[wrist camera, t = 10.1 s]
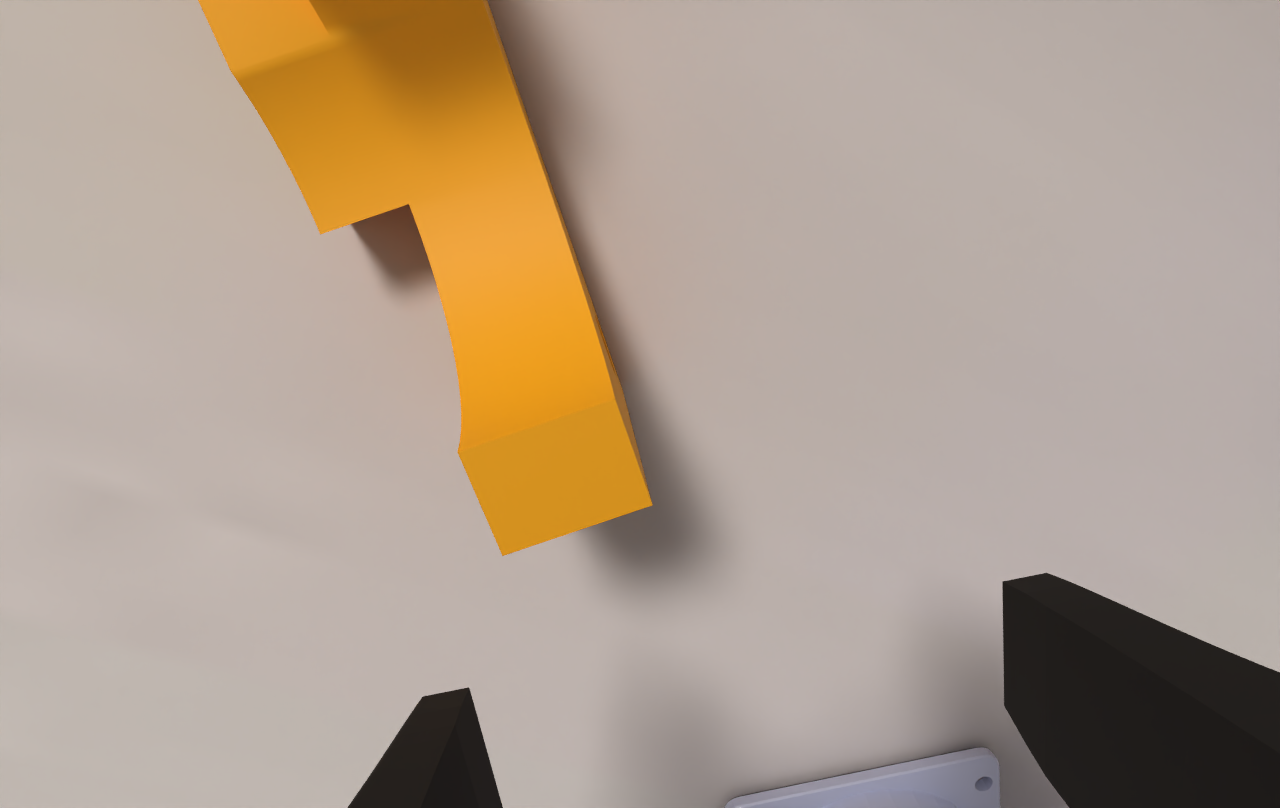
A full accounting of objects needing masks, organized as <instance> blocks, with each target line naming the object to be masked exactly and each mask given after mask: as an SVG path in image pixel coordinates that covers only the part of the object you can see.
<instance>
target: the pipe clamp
mask: <svg viewBox="0 0 1280 808" xmlns="http://www.w3.org/2000/svg"><path fill="white" fill-rule="evenodd" d="M198 1H199V3H200V5H201V7H202V10H203V12H204V14H205V16H206V18H207V20H208V23H209V25H210V27H211V29H212V31H213V33H214V36H215V38H216V40H217V42H218V44H219V47H220V49H221V51H222V53H223V55H224V57H225V60H226V62H227V64H228V66H229V68H230V71H231V72H232V74H233V75H234V77H235V78H236V79H237V81H238V82H239V84H240V85H241V87H242V88H243V90H244V92H245V93H246V95H247V96H248V98H249V99H250V101H251V102H252V104H253V105H254V107H255V109H256V110H257V112H258V114H259V115H260V117H261V118H262V120H263V122H264V123H265V125H266V127H267V128H268V130H269V132H270V134H271V135H272V137H273V139H274V141H275V142H276V144H277V146H278V148H279V149H280V151H281V153H282V155H283V157H284V159H285V161H286V163H287V164H288V166H289V168H290V170H291V172H292V174H293V176H294V178H295V180H296V182H297V184H298V186H299V188H300V190H301V192H302V194H303V196H304V198H305V201H306V203H307V205H308V207H309V209H310V212H311V214H312V216H313V218H314V220H315V223H316V225H317V227H318V230H319V232H320V234H323V233H326V232H329V231H331V230H334V229H337V228H340V227H343V226H346V225H349V224H352V223H355V222H358V221H361V220H364V219H367V218H369V217H372V216H375V215H378V214H381V213H384V212H387V211H390V210H393V209H396V208H399V207H402V206H405V205H407V204H409V206H410V209H411V211H412V214H413V217H414V219H415V222H416V225H417V227H418V230H419V233H420V236H421V239H422V241H423V244H424V247H425V250H426V253H427V256H428V259H429V262H430V265H431V268H432V272H433V275H434V278H435V281H436V285H437V288H438V291H439V295H440V298H441V302H442V305H443V309H444V313H445V317H446V321H447V325H448V329H449V333H450V337H451V342H452V347H453V352H454V357H455V362H456V368H457V374H458V380H459V389H460V398H461V436H460V443H459V448H458V454H459V457H460V459H461V461H462V464H463V466H464V468H465V470H466V473H467V475H468V477H469V480H470V482H471V484H472V487H473V489H474V491H475V493H476V496H477V498H478V500H479V503H480V505H481V507H482V510H483V512H484V514H485V516H486V519H487V521H488V523H489V526H490V528H491V530H492V533H493V535H494V537H495V539H496V542H497V544H498V546H499V549H500V551H501V553H502V556H504V555H507V554H510V553H513V552H516V551H519V550H522V549H525V548H527V547H530V546H533V545H536V544H539V543H542V542H545V541H548V540H551V539H554V538H557V537H560V536H563V535H566V534H569V533H572V532H575V531H578V530H581V529H584V528H587V527H590V526H593V525H596V524H599V523H602V522H605V521H608V520H610V519H613V518H616V517H619V516H622V515H625V514H628V513H631V512H634V511H637V510H640V509H643V508H646V507H649V506H652V501H651V497H650V493H649V489H648V486H647V482H646V478H645V474H644V470H643V466H642V462H641V459H640V455H639V451H638V447H637V443H636V439H635V436H634V432H633V428H632V424H631V420H630V416H629V413H628V409H627V405H626V401H625V397H624V393H623V389H622V387H621V384H620V381H619V378H618V375H617V372H616V369H615V366H614V364H613V361H612V358H611V355H610V352H609V349H608V346H607V343H606V341H605V338H604V335H603V332H602V329H601V326H600V323H599V320H598V318H597V315H596V312H595V309H594V306H593V303H592V300H591V297H590V295H589V292H588V289H587V286H586V283H585V280H584V277H583V274H582V272H581V269H580V266H579V263H578V260H577V257H576V254H575V251H574V249H573V246H572V243H571V240H570V237H569V234H568V231H567V228H566V226H565V223H564V220H563V217H562V214H561V211H560V208H559V205H558V203H557V200H556V197H555V194H554V191H553V188H552V185H551V182H550V180H549V177H548V174H547V171H546V168H545V165H544V162H543V159H542V157H541V154H540V151H539V148H538V145H537V142H536V139H535V136H534V134H533V131H532V128H531V125H530V122H529V119H528V116H527V113H526V111H525V108H524V105H523V102H522V99H521V96H520V93H519V90H518V88H517V85H516V82H515V79H514V76H513V73H512V70H511V67H510V65H509V62H508V59H507V56H506V53H505V50H504V47H503V44H502V42H501V39H500V36H499V33H498V30H497V27H496V24H495V21H494V19H493V16H492V13H491V10H490V7H489V4H488V1H487V0H198Z"/></svg>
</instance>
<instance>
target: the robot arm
mask: <svg viewBox="0 0 1280 808" xmlns="http://www.w3.org/2000/svg"><path fill="white" fill-rule="evenodd" d="M1003 643H1004V706H1005V708H1006V710H1007V711H1008V713H1009V715H1010V717H1011V718H1012V720H1013V722H1014V724H1015V725H1016V727H1017V729H1018V731H1019V732H1020V734H1021V736H1022V738H1023V739H1024V741H1025V743H1026V745H1027V746H1028V748H1029V750H1030V751H1031V753H1032V754H1033V756H1034V758H1035V759H1036V761H1037V763H1038V764H1039V766H1040V768H1041V769H1042V771H1043V772H1044V774H1045V776H1046V777H1047V778H1048V780H1049V781H1050V782H1051V784H1052V785H1053V786H1054V788H1055V789H1056V791H1057V792H1058V793H1059V795H1060V796H1061V797H1062V798H1063V800H1064V801H1065V802H1066V804H1067V805H1068V806H1069V808H1280V672H1277V671H1275V670H1272V669H1269V668H1267V667H1264V666H1262V665H1259V664H1257V663H1254V662H1252V661H1250V660H1247V659H1245V658H1242V657H1240V656H1238V655H1235V654H1233V653H1230V652H1228V651H1225V650H1223V649H1221V648H1218V647H1216V646H1214V645H1211V644H1209V643H1207V642H1204V641H1202V640H1200V639H1198V638H1195V637H1193V636H1191V635H1188V634H1186V633H1184V632H1182V631H1179V630H1177V629H1175V628H1172V627H1170V626H1168V625H1166V624H1163V623H1161V622H1159V621H1157V620H1155V619H1152V618H1150V617H1148V616H1146V615H1143V614H1141V613H1139V612H1137V611H1135V610H1132V609H1130V608H1128V607H1126V606H1123V605H1121V604H1119V603H1117V602H1115V601H1112V600H1110V599H1108V598H1106V597H1103V596H1101V595H1099V594H1097V593H1094V592H1092V591H1090V590H1088V589H1085V588H1083V587H1081V586H1078V585H1076V584H1074V583H1071V582H1069V581H1066V580H1064V579H1061V578H1059V577H1056V576H1053V575H1051V574H1048V573H1044V574H1039V575H1034V576H1029V577H1024V578H1019V579H1014V580H1009V581H1004V582H1003ZM982 777H983V778H982ZM979 778H982V779H980V780H978V779H979ZM977 780H978V781H977ZM348 808H503V807H502V803H501V800H500V796H499V793H498V789H497V785H496V782H495V778H494V775H493V771H492V767H491V764H490V760H489V757H488V753H487V750H486V746H485V742H484V739H483V735H482V732H481V728H480V725H479V721H478V717H477V714H476V710H475V707H474V703H473V700H472V696H471V692H470V689H469V688H464V689H459V690H454V691H449V692H444V693H439V694H434V695H429V696H424V697H422V699H421V700H420V701H419V703H418V704H417V706H416V707H415V708H414V710H413V711H412V713H411V714H410V716H409V717H408V719H407V720H406V722H405V723H404V725H403V726H402V728H401V729H400V731H399V732H398V734H397V735H396V737H395V738H394V740H393V741H392V743H391V745H390V746H389V748H388V749H387V751H386V752H385V754H384V755H383V757H382V758H381V760H380V761H379V763H378V764H377V766H376V767H375V769H374V770H373V772H372V773H371V775H370V776H369V778H368V779H367V781H366V782H365V783H364V785H363V786H362V788H361V789H360V791H359V792H358V793H357V795H356V796H355V798H354V799H353V801H352V802H351V804H350V805H349V806H348ZM724 808H1000V765H999V762H998V760H997V758H996V757H995V755H994V754H993V753H992V752H991V751H990V750H989V749H987V748H984V747H980V748H973V749H968V750H963V751H958V752H953V753H948V754H944V755H939V756H934V757H929V758H924V759H919V760H915V761H910V762H905V763H900V764H895V765H890V766H885V767H881V768H876V769H871V770H866V771H861V772H856V773H852V774H847V775H842V776H837V777H832V778H827V779H823V780H818V781H813V782H808V783H803V784H798V785H793V786H789V787H784V788H779V789H774V790H769V791H764V792H760V793H755V794H750V795H745V796H740V797H737V798H734V799H732V800H730V801H729V802H728V803H727V804H726V805H725V807H724Z"/></svg>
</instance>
